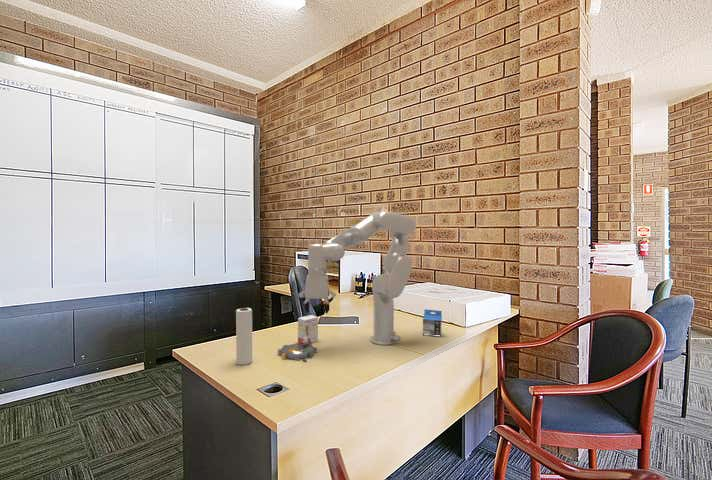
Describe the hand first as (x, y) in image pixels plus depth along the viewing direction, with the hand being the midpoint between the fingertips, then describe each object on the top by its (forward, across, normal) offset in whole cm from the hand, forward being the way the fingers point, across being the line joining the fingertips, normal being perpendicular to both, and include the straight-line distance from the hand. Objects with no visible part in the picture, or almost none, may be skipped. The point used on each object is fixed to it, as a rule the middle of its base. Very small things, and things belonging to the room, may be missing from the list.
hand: (317, 312), depth 156 cm
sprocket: (+17, +8, +4) cm, 19 cm away
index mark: (+17, +3, +12) cm, 21 cm away
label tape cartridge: (+17, -52, -28) cm, 62 cm away
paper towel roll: (+17, +26, +16) cm, 35 cm away
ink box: (+17, +7, -11) cm, 22 cm away
